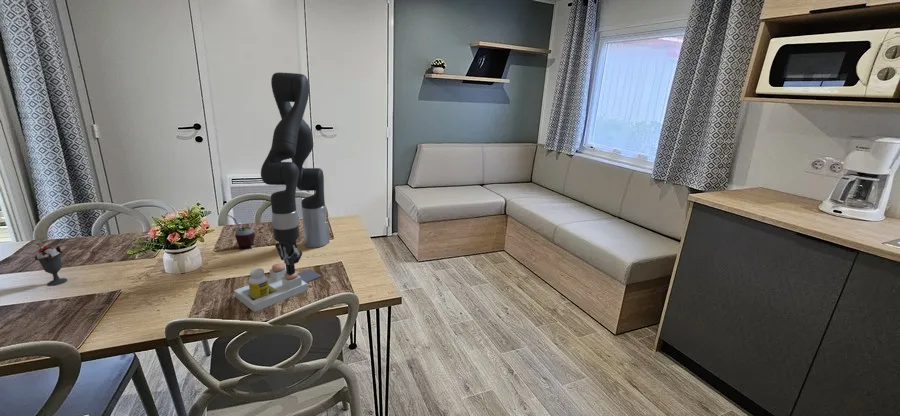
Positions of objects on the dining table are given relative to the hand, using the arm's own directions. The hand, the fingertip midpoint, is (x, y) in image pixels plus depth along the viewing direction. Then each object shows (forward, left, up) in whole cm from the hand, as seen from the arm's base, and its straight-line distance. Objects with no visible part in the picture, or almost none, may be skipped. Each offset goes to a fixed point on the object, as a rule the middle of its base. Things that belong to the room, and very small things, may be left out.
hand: (290, 273), depth 128 cm
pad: (-9, -6, -7) cm, 13 cm away
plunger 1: (0, -8, -4) cm, 9 cm away
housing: (+5, -4, -7) cm, 9 cm away
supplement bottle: (+9, -4, -7) cm, 12 cm away
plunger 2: (0, 0, -4) cm, 4 cm away
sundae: (+49, -64, -7) cm, 81 cm away
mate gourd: (-6, -48, -7) cm, 48 cm away
